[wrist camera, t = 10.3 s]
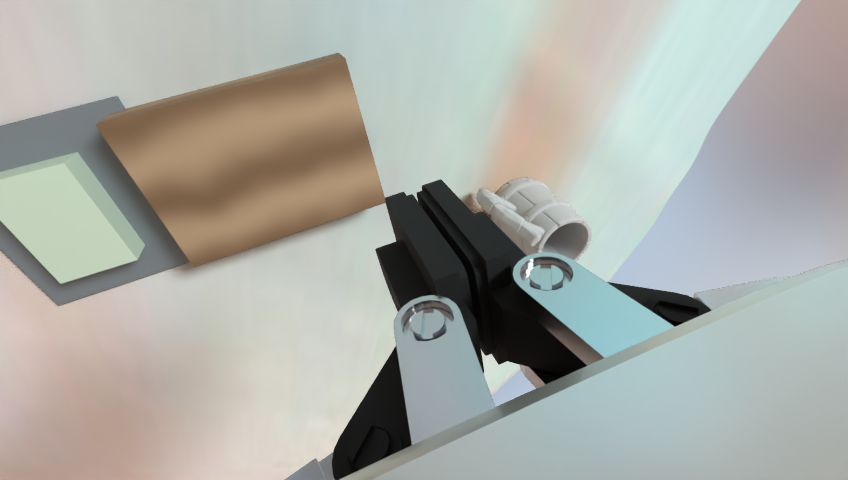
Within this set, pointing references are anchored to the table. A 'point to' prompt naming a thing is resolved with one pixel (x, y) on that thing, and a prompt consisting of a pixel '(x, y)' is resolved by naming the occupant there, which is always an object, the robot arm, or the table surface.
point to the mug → (536, 218)
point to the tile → (66, 218)
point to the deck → (250, 157)
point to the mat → (81, 135)
